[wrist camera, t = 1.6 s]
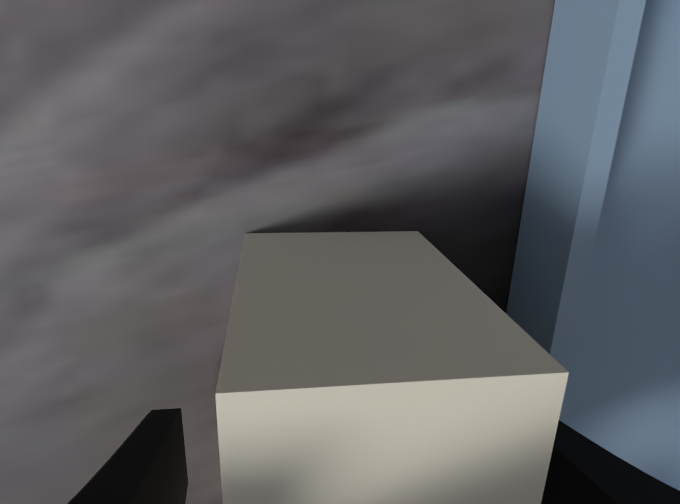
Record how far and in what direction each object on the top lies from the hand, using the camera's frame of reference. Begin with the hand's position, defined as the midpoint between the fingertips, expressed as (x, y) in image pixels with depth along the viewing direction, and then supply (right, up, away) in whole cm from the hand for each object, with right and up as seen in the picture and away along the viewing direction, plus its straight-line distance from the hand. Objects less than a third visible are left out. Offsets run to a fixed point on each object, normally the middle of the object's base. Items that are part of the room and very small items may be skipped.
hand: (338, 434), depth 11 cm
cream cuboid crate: (0, -1, +2) cm, 2 cm away
